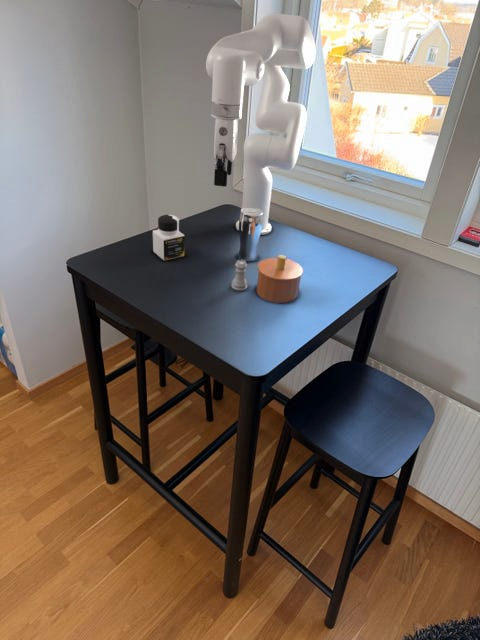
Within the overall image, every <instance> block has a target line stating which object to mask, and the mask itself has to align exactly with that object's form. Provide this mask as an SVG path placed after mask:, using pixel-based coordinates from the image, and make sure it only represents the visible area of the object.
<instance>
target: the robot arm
mask: <svg viewBox="0 0 480 640" xmlns="http://www.w3.org/2000/svg"><path fill="white" fill-rule="evenodd" d="M315 57H316V41H315V38H314V35H313V31H312V28H311V25H310V23H309V22H308V20H307V19H306V18H305V17H304V16H302V15H295V14H287V13H275V12H274V13H268V14H266V15H264V16H263V17H262V18H261V19H260V20H259V21H258V22H257V23H256V24H255V25H254V26H253V27H252V28H251V29H248V30H244V31H241V32H237V33H233V34H231V35H226V36H224V37H222V38H221V39H219V40H218V41H217V42H216V43H214V45H213V46H212V47H211V48H210V50H209V52H208V54H207V57H206V61H205V69H206V74H207V75H208V77H209V78H210V79H211V80H212V82H211V83H212V84H211V85H212V86H211V87H212V88H211V113H210V114H211V115H210V116H211V117H212V118H214V119H215V121H214V137H213V139H214V141H213V142H214V143H213V158H214V160H215V167H214V176H213V177H214V179H213V185H214V186H216V187H227V185H228V176H231V175H232V169H233V161H234V160H235V159H236V157H237V153H238V151H237V150H238V129H239V128H238V127H239V120H241V119H242V118H243V103H244V89H245V86H248V87H250V86H255V85H256V84H258V83H259V82H260V81H261V80H262V88H261V93H260V97H259V100H258V104H257V108H256V109H257V110H256V114H255V126H256V127H257V128H258V130H261V131H264V132H268V133H273V134H274V133H275V134H279V135H286V137H283V136H278V135H272V134H266V133H251V134H249V135H248V136H247V137H246V138H245V139H244V143H243V162H244V163H243V164H244V174H243V186H242V199H241V209H243V208H247V207H252V208H257V209H260V210H262V212H263V221H262V230H261V235H260V236H264V235H267V234H269V233H270V232H272V225H271V223H270V222H269V217H270V216H269V215H270V206H271V198H272V191H273V190H272V189H273V176H272V173H271V171H270V169H276V170H283V171H290V170H293V168H294V167H295V165H296V164H297V161H298V157H299V153H300V149H301V144H302V141H303V137H304V133H305V128H306V123H307V110H306V107H305V106H304V105H303V104H302V103H298V102H294V101H288V97H289V93H290V89H291V88H290V87H291V85H290V82H289V80H288V77H287V75H286V74H285V72H284V71H283V68H289V69H296V70H307V69H309V68H310V67H311V66H312V65H313V63H314V61H315ZM269 168H270V169H269ZM235 228H236V230H237V231H239V220H237V221H236V223H235Z"/></svg>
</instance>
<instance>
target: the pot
mask: <svg viewBox="0 0 480 640" xmlns="http://www.w3.org/2000/svg"><path fill="white" fill-rule="evenodd" d="M301 278H302V276H301V277H299V278H298V279H295V280H291V281H279V280H274V279H270V278H267V277H265V276H264V275H262V274H261V273H260V272H259V271H258V273H257V280H256V281H257V282H256V294H257V295H258V296H259V298H261V299H263V300H265V301H268V302H270V303H275V304H277V303H278V304H287V303H290V302H292V301H295V299H297V297H298V295H299V290H300V284H301Z"/></svg>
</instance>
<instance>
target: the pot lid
mask: <svg viewBox="0 0 480 640" xmlns="http://www.w3.org/2000/svg"><path fill="white" fill-rule="evenodd" d="M257 271H258V272H260V273H261V274H262V275H264V276H265V277H267V278H270V279H274V280H279V281H291V280H295V279H298V278H299V277H301V278H302V276H303V273H304V268H303V267H302V266H301V264H299V263H298V262H296V261H294V260H292V259H288V258H287V256H286V255H284V254H278V255H277V257H267V258H264V259H262V260H260V261H259V262H258V264H257Z"/></svg>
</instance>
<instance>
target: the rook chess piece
mask: <svg viewBox="0 0 480 640" xmlns="http://www.w3.org/2000/svg"><path fill="white" fill-rule="evenodd" d="M234 266H235V275H234V278H233V279H232V281H231V286H230V287H231V288H232V289H233V290H234V291H237V292H243V291H245V290H247V289H248V281H247V278H246V272H247V269H246V268H247V267H248V264H247V261H243V260H240V259H238V260H237V261H236V263H235V264H234Z"/></svg>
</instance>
